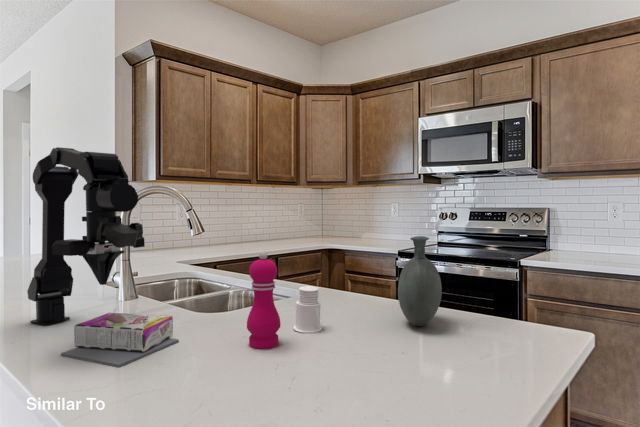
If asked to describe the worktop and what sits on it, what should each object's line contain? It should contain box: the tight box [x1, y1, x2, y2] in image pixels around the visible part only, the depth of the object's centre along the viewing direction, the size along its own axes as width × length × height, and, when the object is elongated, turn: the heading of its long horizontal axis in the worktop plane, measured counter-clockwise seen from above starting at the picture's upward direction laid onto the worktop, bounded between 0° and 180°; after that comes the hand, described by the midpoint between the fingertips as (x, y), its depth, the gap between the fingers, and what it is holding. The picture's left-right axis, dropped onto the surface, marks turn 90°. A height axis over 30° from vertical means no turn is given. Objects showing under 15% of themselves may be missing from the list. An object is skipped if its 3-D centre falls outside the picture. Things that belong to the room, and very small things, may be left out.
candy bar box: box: [73, 312, 174, 352], centre depth 95 cm, size 11×5×16 cm
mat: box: [60, 337, 180, 368], centre depth 92 cm, size 16×16×1 cm
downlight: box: [292, 285, 323, 334], centre depth 106 cm, size 8×7×10 cm
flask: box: [397, 235, 443, 327], centre depth 109 cm, size 12×17×22 cm
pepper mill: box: [246, 251, 281, 350], centre depth 95 cm, size 7×7×20 cm
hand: (102, 284), depth 94 cm, fingers closed
